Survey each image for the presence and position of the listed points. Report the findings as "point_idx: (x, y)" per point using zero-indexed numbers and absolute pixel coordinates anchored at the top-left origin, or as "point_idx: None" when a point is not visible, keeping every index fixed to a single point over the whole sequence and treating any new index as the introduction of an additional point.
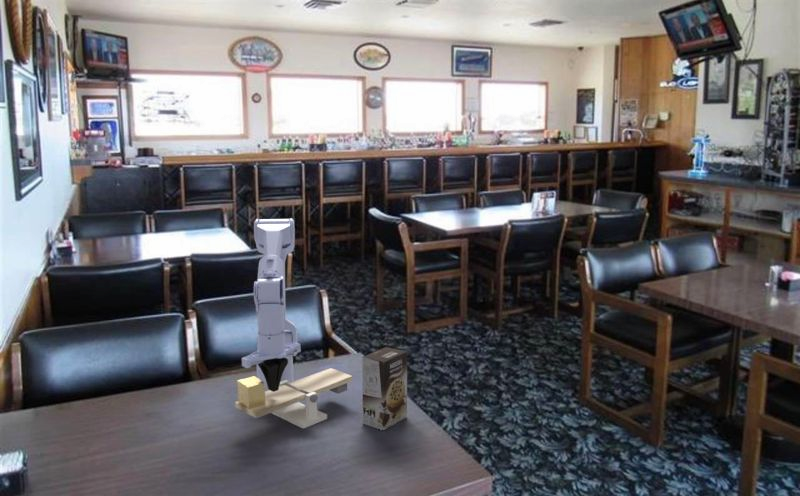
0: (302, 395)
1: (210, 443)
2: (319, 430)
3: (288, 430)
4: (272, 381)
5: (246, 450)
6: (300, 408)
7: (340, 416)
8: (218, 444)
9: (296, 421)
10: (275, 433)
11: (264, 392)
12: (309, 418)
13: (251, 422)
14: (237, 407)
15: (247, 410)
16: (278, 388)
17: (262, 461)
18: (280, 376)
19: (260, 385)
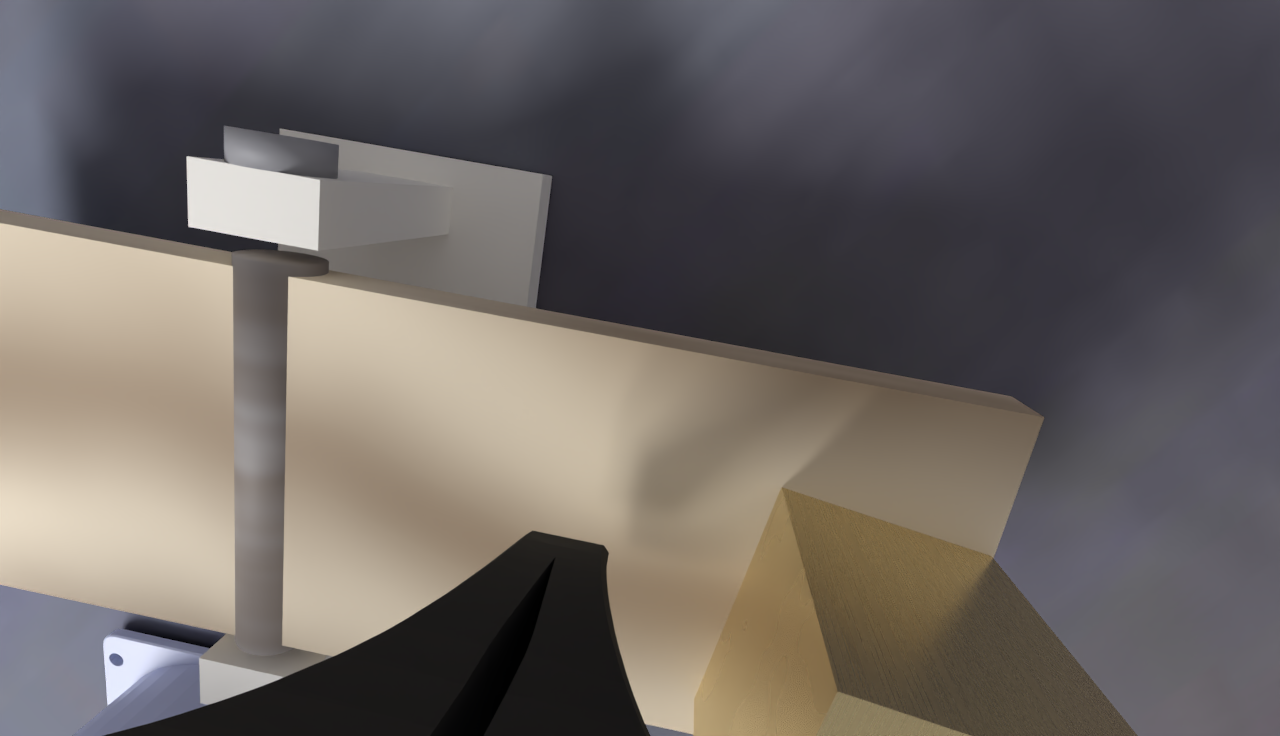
0: (340, 285)
1: (1106, 602)
2: (493, 33)
3: (640, 261)
4: (615, 645)
5: (1085, 304)
6: None
7: (201, 65)
8: (1094, 546)
9: (531, 268)
10: (736, 313)
11: (817, 574)
12: (442, 186)
13: None
14: None
15: None
16: (528, 536)
17: (1199, 44)
18: (434, 626)
19: (913, 695)
